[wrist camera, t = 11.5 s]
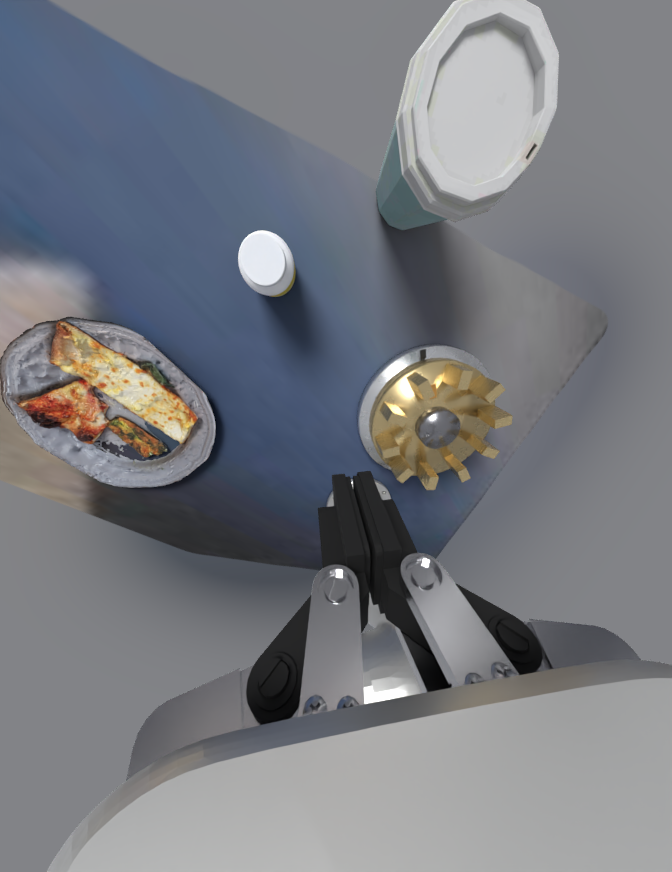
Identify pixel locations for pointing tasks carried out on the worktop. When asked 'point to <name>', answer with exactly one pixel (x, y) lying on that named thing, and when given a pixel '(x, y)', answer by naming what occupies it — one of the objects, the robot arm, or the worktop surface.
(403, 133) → the disposable coffee cup
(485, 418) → the bladed impeller wheel
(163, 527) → the worktop surface
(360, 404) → the light grey round disc
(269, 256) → the supplement bottle
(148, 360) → the food plate
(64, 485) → the worktop surface
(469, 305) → the worktop surface
